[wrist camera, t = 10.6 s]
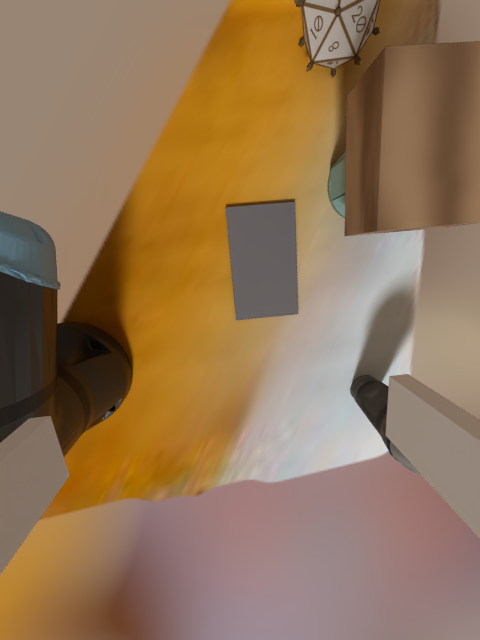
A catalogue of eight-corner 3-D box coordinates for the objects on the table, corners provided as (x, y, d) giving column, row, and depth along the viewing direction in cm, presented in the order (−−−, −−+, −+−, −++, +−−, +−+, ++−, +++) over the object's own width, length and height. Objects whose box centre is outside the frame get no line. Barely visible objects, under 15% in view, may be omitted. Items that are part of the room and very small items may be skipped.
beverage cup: (344, 367, 40) (461, 474, 20) (388, 366, 40) (544, 469, 21) (339, 408, 41) (443, 543, 22) (382, 407, 42) (520, 537, 22)
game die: (327, 65, 33) (416, 17, 26) (297, 111, 31) (383, 72, 24) (299, -32, 27) (405, -131, 20) (260, 18, 25) (361, -71, 18)
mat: (236, 319, 36) (236, 320, 36) (225, 207, 33) (225, 207, 32) (297, 313, 37) (298, 313, 36) (294, 202, 33) (294, 201, 33)
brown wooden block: (344, 236, 28) (376, 230, 22) (346, 96, 25) (385, 46, 19) (440, 227, 28) (496, 220, 22) (455, 89, 25) (525, 38, 19)
